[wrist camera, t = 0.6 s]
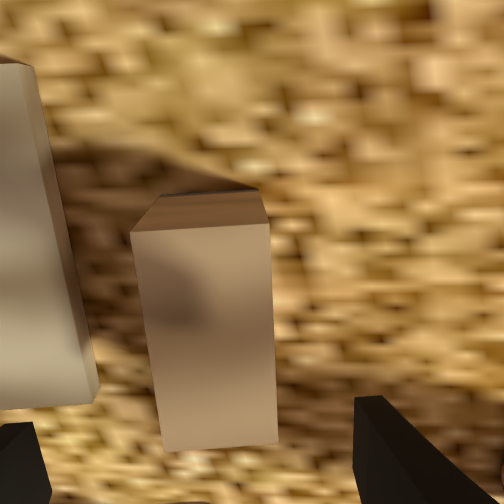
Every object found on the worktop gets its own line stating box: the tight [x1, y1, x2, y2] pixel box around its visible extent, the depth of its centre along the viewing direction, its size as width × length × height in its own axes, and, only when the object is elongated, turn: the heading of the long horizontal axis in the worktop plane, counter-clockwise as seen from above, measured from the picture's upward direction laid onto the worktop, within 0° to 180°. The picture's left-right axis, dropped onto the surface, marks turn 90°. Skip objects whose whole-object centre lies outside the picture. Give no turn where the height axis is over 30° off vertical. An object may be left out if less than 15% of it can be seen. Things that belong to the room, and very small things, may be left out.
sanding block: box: [130, 189, 278, 452], centre depth 16 cm, size 8×4×6 cm, turn 3°
